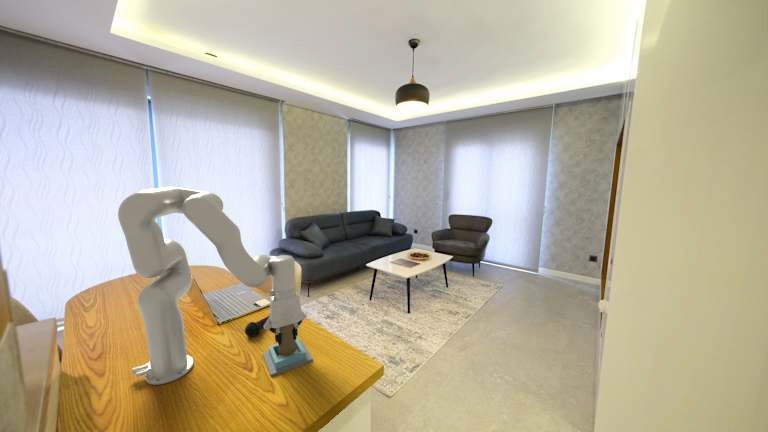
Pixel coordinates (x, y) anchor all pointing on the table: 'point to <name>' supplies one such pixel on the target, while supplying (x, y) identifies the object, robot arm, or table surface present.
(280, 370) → the socket
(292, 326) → the cork
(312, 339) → the table surface
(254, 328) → the microphone
